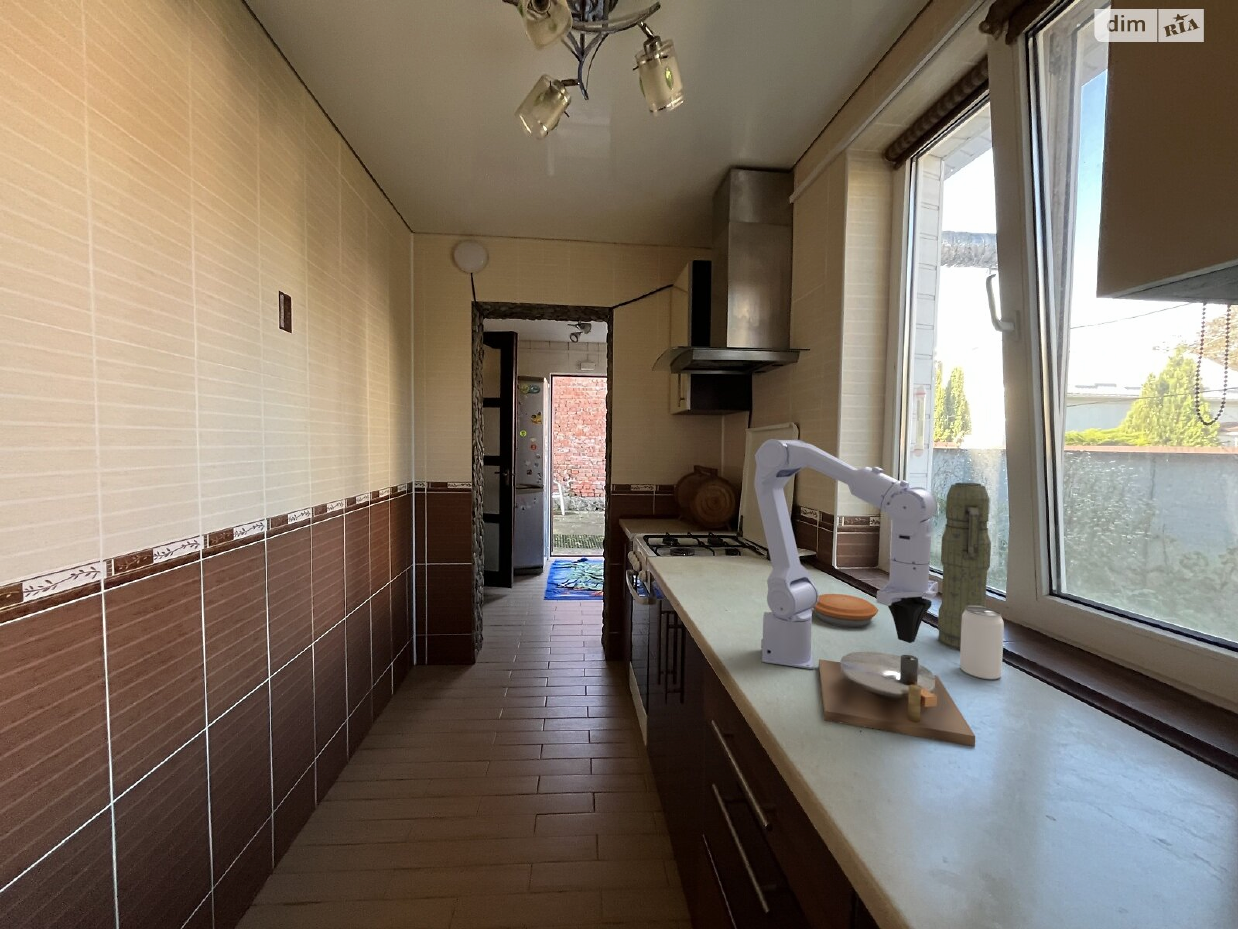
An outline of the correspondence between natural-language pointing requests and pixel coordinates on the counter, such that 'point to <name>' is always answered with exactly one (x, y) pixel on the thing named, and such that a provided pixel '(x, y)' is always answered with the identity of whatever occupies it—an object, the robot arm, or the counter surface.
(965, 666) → the can
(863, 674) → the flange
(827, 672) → the base board
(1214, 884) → the counter surface
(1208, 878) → the counter surface
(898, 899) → the counter surface
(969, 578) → the thermos
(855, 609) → the pie
